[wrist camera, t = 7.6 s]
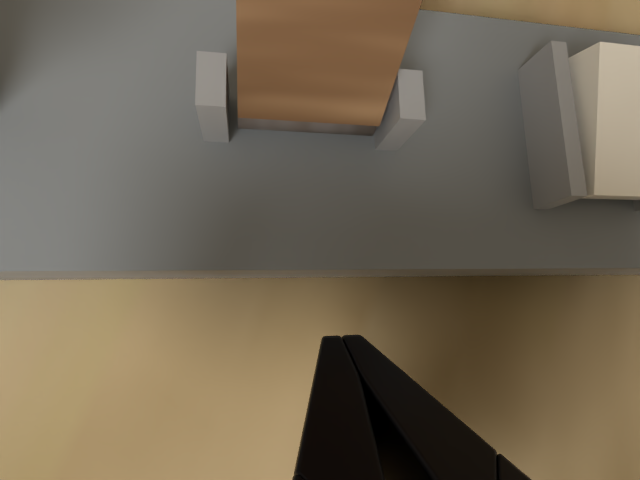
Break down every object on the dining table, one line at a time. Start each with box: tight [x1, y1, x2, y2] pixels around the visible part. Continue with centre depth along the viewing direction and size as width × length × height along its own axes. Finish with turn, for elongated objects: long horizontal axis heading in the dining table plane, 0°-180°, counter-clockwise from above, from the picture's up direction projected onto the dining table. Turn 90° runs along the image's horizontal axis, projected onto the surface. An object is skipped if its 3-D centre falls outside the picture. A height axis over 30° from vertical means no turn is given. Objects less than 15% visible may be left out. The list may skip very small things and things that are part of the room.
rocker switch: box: [568, 42, 640, 200], centre depth 14 cm, size 5×3×1 cm, turn 1°
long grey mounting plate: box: [0, 0, 640, 280], centre depth 14 cm, size 10×36×5 cm, turn 91°
